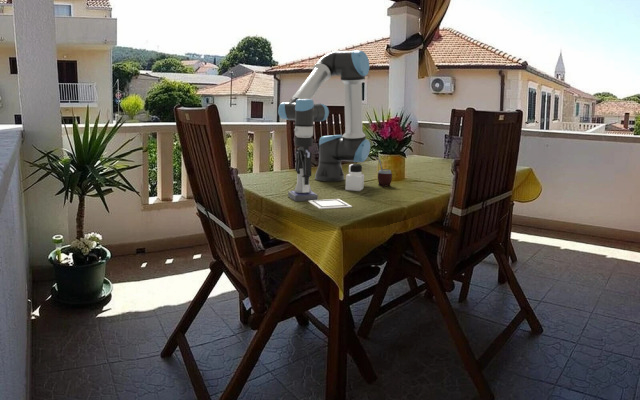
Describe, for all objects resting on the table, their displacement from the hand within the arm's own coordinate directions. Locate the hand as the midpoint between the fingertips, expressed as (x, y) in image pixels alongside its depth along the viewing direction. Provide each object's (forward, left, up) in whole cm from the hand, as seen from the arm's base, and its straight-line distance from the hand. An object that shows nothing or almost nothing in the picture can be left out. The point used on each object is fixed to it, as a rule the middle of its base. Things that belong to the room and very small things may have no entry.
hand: (302, 190), depth 210 cm
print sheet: (-7, +14, -3) cm, 16 cm away
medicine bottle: (-30, -13, -4) cm, 33 cm away
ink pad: (0, 0, -3) cm, 3 cm away
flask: (0, 0, -1) cm, 1 cm away
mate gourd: (-48, -18, -4) cm, 51 cm away
